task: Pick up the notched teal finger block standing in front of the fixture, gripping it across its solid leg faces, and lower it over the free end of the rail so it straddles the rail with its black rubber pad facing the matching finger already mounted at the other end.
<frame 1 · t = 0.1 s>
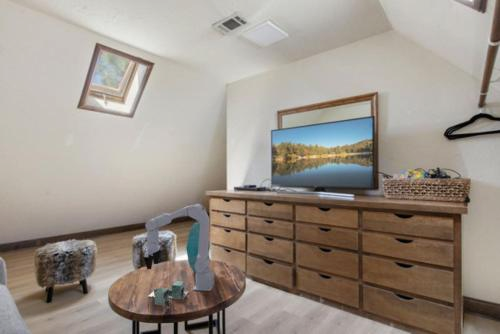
hand: (152, 266, 141), 10 cm above the table, fingers open, 7 cm apart
rail: (168, 294, 130), on the table
finger block: (161, 302, 122), on the table
crystal: (198, 271, 160), on the table
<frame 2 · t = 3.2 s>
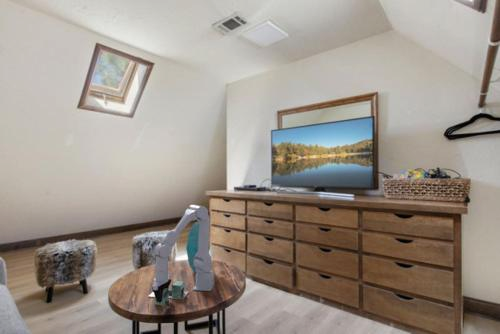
hand: (161, 298, 122), 2 cm above the table, fingers closed on finger block, 5 cm apart
finger block: (161, 302, 122), on the table, touching gripper
everything else where it was.
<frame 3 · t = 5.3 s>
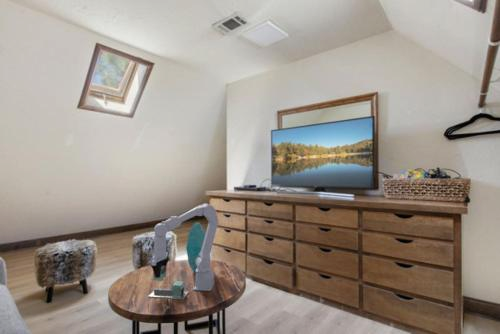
hand: (160, 275, 130), 10 cm above the table, fingers closed on finger block, 5 cm apart
finger block: (159, 278, 130), point 8 cm above the table, touching gripper
everything else where it was.
when the fingers open (3 cm above the table, at t = 7.7 s): finger block stays where it is, resting on rail.
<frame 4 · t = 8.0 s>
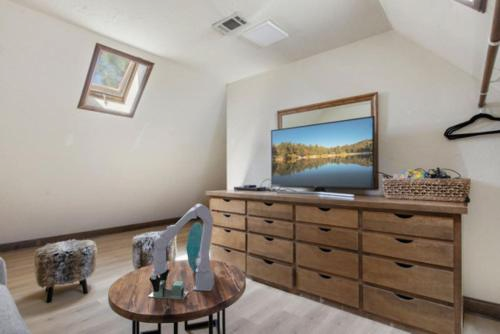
hand: (159, 288, 130), 3 cm above the table, fingers open, 7 cm apart
finger block: (159, 293, 130), resting on rail
everything else where it was.
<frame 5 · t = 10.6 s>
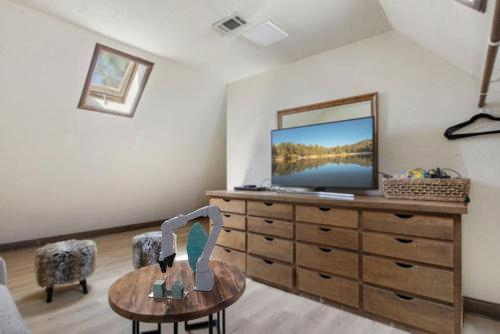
hand: (166, 270, 136), 10 cm above the table, fingers open, 7 cm apart
nothing on the table moved.
at the end: finger block 0.0 cm from the target spot on the rail, point 0.5 cm above the rail's base; finger block tilted 0°; the gripper is holding nothing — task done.
